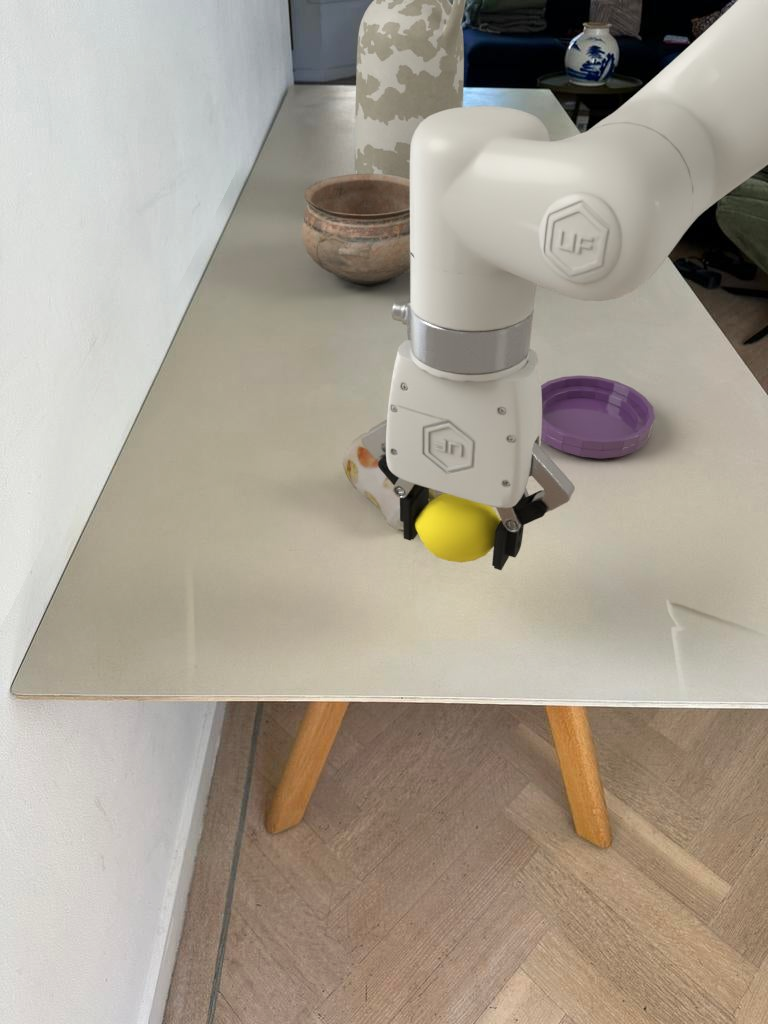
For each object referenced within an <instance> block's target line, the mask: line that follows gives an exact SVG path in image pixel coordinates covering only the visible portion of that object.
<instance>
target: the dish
mask: <svg viewBox="0 0 768 1024" xmlns="http://www.w3.org/2000/svg"><path fill="white" fill-rule="evenodd" d="M541 391H542V432H541V442H543V443H545V444H547V445H548V446H550V447H552V448H554V449H556V450H558V451H561V452H564V453H567V454H571V455H574V456H577V457H581V458H591V459H611V458H612V459H613V458H620V457H623V456H626V455H629V454H633V453H635V452H637V451H638V450H640V449H641V448H642V447H643V446H644V445H646V444H647V443H648V441H649V438H650V436H651V433H652V429H653V426H654V423H655V418H656V416H655V410H654V407H653V405H652V404H651V403H650V401H649V400H648V399H647V397H646V396H644V395H643V394H642V393H640V391H638V390H636V389H635V388H633V387H631V386H629V385H627V384H624V383H622V382H619V381H617V380H613V379H609V378H605V377H600V376H593V375H592V376H591V375H569V376H560V377H557V378H555V379H554V378H553V379H550V380H547V381H546V382H544V383H543V384H541Z"/></svg>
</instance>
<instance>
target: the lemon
mask: <svg viewBox="0 0 768 1024" xmlns="http://www.w3.org/2000/svg"><path fill="white" fill-rule="evenodd" d="M500 521H501V518H500V516H499V515H498V514H497V513H496V511H495V510H494V508H493V507H492V506H488V505H484V504H481V503H477V502H474V501H470V500H467V499H463V498H460V497H457V496H453V495H450V494H447V493H441V494H439V495H438V496H437V497H436V498H435V499H433V500H429V503H428V504H427V505H426V506H425V507H424V508H423V509H422V511H421V512H420V513H419V515H418V516H417V518H416V520H415V522H414V524H415V528H416V530H417V532H418V534H417V535H418V536H419V539H420V540H421V543H422V544H423V545H424V547H425V548H426V550H428V552H430V553H431V554H433V555H434V556H435V557H436V558H438V559H441V560H445V561H447V562H453V563H454V562H455V563H466V562H473V561H476V560H478V559H480V558H483V557H485V556H486V555H487V554H489V552H491V550H492V549H494V540H495V531H496V528H497V526H498V525H499V523H500Z"/></svg>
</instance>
